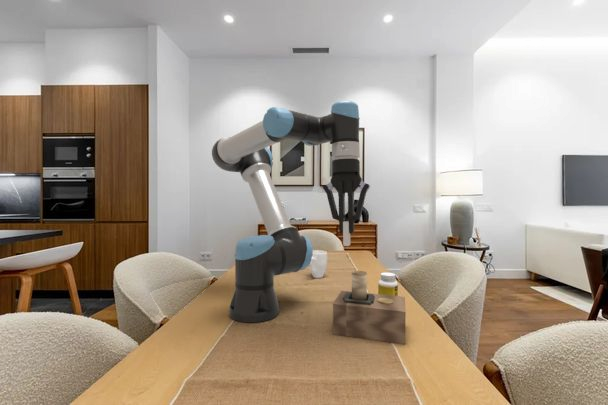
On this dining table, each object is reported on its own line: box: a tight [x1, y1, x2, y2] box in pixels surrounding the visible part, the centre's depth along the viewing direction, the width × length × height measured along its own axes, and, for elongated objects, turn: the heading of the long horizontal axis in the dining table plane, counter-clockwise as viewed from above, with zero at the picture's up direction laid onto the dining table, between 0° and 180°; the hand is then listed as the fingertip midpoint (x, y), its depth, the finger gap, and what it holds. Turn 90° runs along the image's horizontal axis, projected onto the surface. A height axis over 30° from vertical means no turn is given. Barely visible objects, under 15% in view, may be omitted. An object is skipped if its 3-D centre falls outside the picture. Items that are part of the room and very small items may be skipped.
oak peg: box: [351, 270, 368, 301], centre depth 85 cm, size 4×4×8 cm
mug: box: [308, 249, 328, 279], centre depth 138 cm, size 12×8×11 cm
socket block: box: [332, 290, 407, 345], centre depth 84 cm, size 18×12×9 cm, turn 73°
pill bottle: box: [377, 272, 399, 296], centre depth 101 cm, size 6×6×11 cm
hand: (346, 245), depth 85 cm, fingers closed
